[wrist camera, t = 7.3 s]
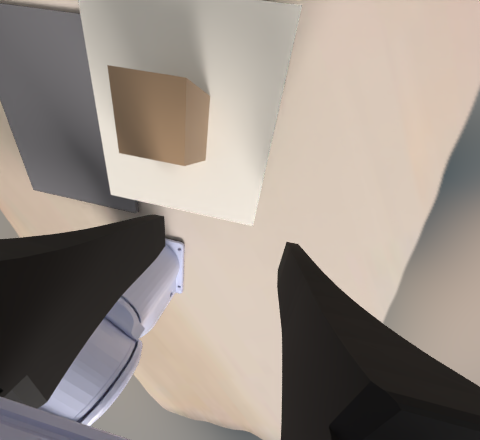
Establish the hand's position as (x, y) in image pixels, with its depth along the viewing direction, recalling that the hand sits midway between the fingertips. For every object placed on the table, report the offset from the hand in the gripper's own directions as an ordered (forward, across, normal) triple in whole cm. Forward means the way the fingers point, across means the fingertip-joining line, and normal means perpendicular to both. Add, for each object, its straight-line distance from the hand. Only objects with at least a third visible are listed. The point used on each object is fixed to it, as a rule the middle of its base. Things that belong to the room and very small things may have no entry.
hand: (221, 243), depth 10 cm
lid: (+6, +5, -6) cm, 9 cm away
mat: (+10, +21, -4) cm, 24 cm away
